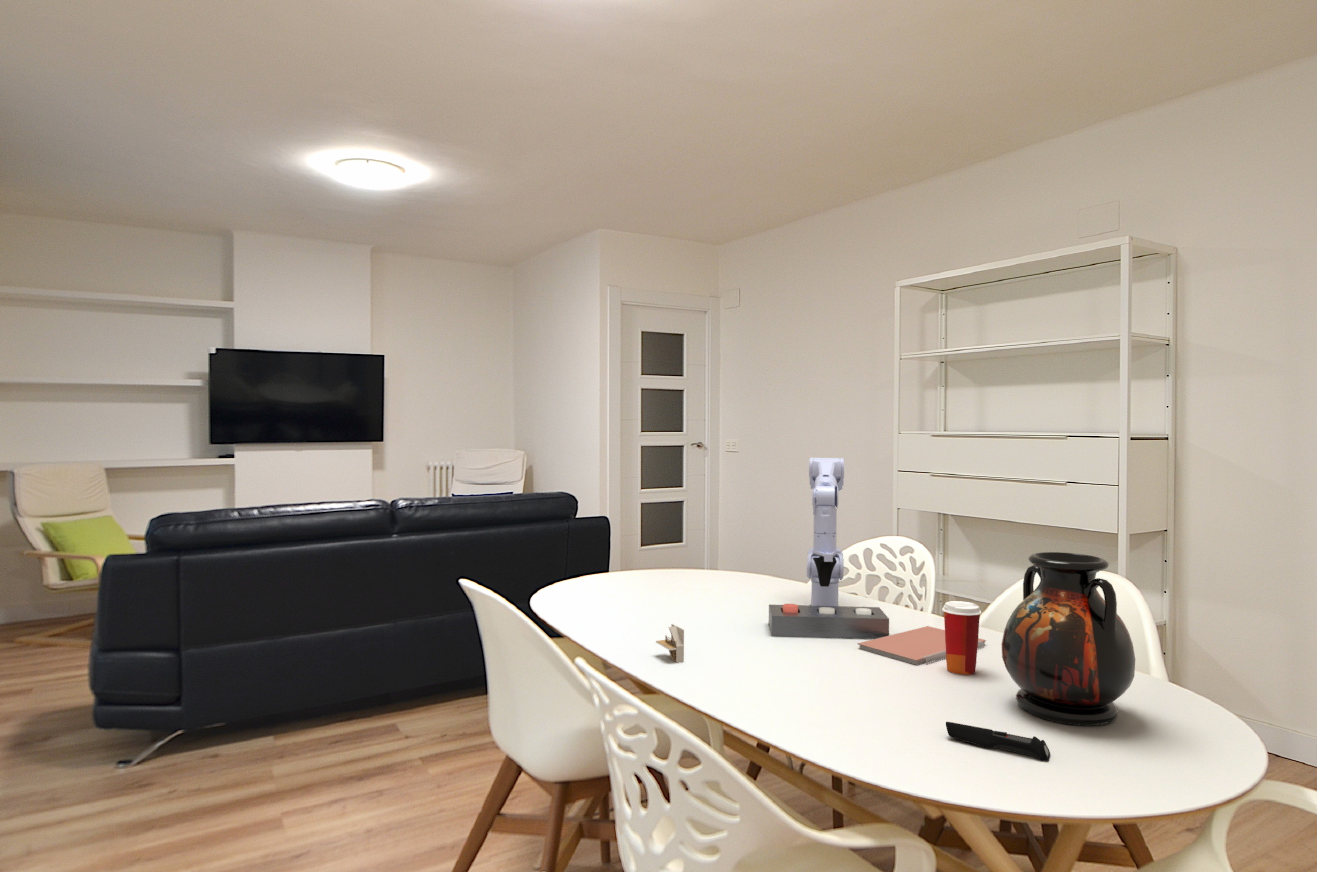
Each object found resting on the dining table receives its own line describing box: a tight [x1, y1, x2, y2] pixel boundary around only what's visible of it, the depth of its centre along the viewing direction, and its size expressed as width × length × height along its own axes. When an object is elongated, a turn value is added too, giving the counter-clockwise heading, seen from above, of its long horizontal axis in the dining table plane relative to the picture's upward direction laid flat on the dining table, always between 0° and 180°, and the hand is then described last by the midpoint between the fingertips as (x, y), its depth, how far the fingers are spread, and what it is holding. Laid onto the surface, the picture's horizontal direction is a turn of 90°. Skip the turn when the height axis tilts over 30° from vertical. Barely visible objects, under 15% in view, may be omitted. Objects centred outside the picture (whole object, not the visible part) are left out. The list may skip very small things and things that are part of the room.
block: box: [768, 604, 890, 640], centre depth 196 cm, size 12×28×5 cm, turn 85°
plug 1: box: [819, 607, 835, 614], centre depth 196 cm, size 4×4×5 cm
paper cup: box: [941, 600, 982, 676], centre depth 165 cm, size 8×8×14 cm
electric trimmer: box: [945, 721, 1051, 762], centre depth 126 cm, size 4×16×3 cm, turn 57°
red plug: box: [782, 603, 799, 613], centre depth 197 cm, size 4×4×5 cm
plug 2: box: [856, 608, 871, 615], centre depth 195 cm, size 4×4×5 cm
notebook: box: [857, 625, 987, 666], centre depth 183 cm, size 27×17×2 cm, turn 127°
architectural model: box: [655, 623, 685, 664], centre depth 173 cm, size 3×7×7 cm, turn 27°
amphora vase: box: [1001, 551, 1136, 727], centre depth 142 cm, size 22×22×28 cm
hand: (824, 586), depth 200 cm, fingers closed
